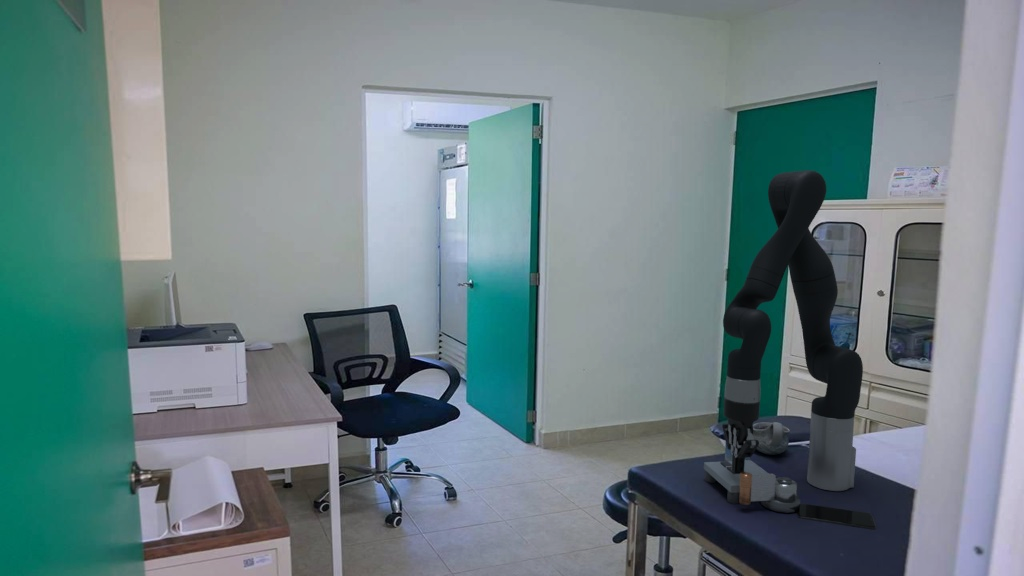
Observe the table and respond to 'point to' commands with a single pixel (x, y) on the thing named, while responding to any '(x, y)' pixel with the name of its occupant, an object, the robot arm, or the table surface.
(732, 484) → the slide switch panel
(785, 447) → the mug
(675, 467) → the table surface
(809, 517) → the smartphone
